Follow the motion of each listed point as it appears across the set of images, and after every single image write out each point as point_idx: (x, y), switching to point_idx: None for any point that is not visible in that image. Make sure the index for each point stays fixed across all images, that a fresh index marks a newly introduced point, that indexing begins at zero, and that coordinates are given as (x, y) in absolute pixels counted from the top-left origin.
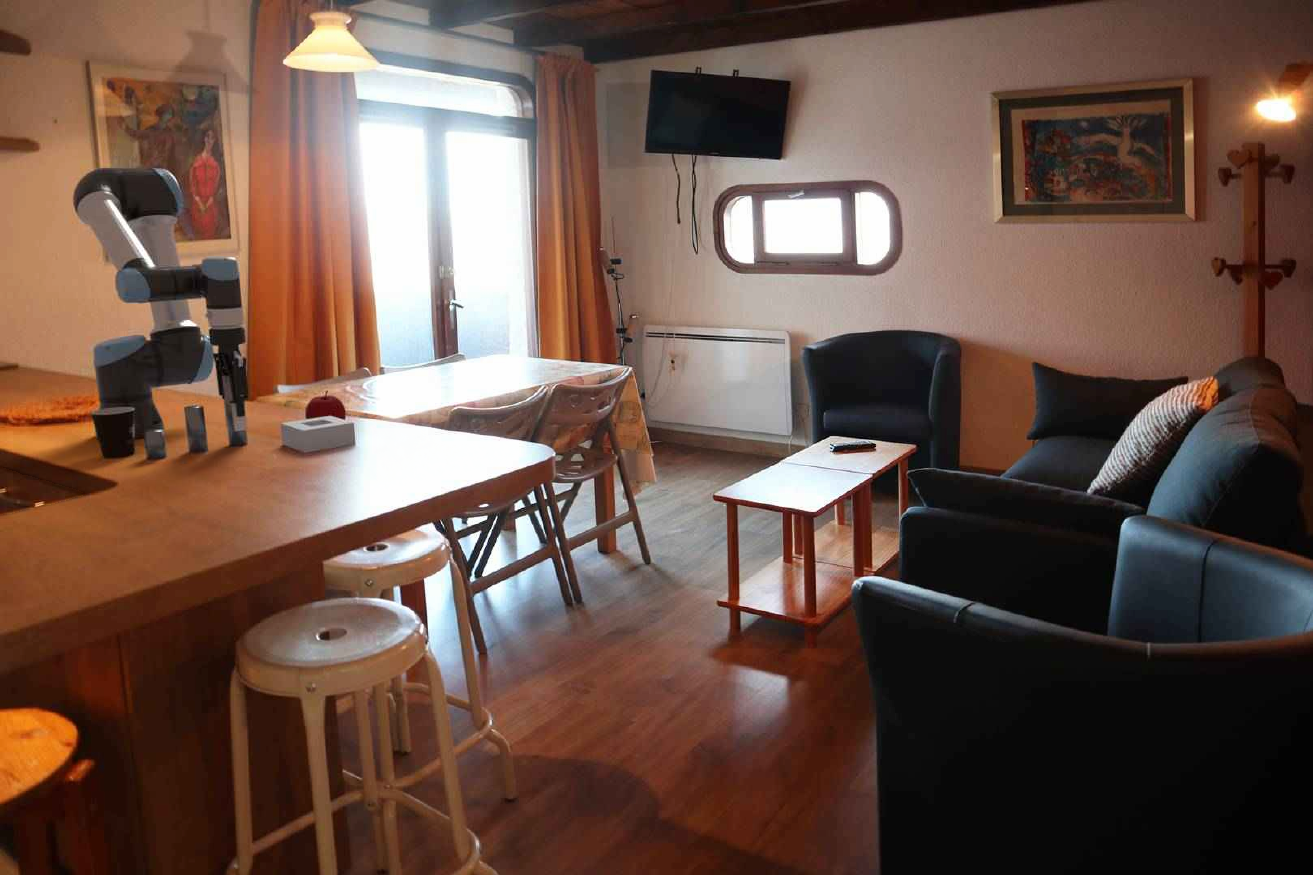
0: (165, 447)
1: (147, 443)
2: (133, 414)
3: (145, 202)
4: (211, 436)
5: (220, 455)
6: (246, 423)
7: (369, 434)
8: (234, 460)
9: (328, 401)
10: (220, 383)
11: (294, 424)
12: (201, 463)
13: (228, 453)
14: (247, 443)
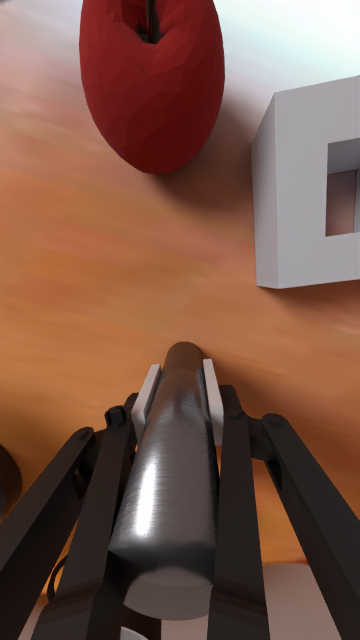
0: None
1: None
2: (135, 611)
3: None
4: (67, 378)
5: (265, 410)
6: (212, 366)
7: (301, 23)
8: (331, 402)
9: (203, 15)
10: (76, 517)
11: (332, 259)
12: (308, 449)
13: (258, 395)
14: (193, 344)
